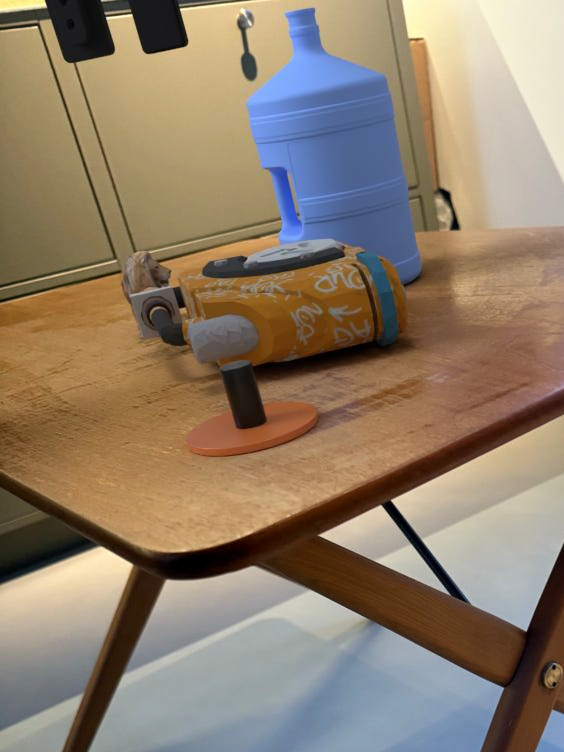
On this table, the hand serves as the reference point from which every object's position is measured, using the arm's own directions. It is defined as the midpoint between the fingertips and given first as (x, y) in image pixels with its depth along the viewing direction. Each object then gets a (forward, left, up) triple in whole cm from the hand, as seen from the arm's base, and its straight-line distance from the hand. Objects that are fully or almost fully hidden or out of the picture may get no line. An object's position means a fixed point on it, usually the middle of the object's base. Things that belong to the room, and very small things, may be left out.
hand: (131, 54), depth 65 cm
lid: (+1, +1, -25) cm, 25 cm away
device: (+2, +28, -26) cm, 38 cm away
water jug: (+12, +50, -26) cm, 58 cm away
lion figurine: (-11, +48, -26) cm, 56 cm away
